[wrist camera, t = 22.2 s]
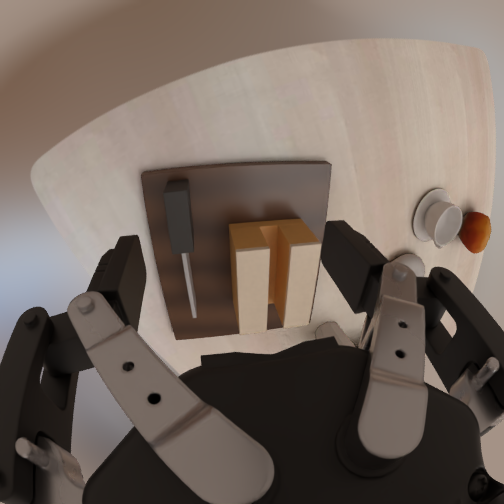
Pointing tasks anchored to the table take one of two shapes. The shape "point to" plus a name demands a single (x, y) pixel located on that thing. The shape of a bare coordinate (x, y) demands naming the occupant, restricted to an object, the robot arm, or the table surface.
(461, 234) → the fruit
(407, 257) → the donut
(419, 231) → the teacup
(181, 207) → the kitchen blade
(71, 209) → the table surface
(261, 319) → the orange u-shaped channel
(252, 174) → the board
